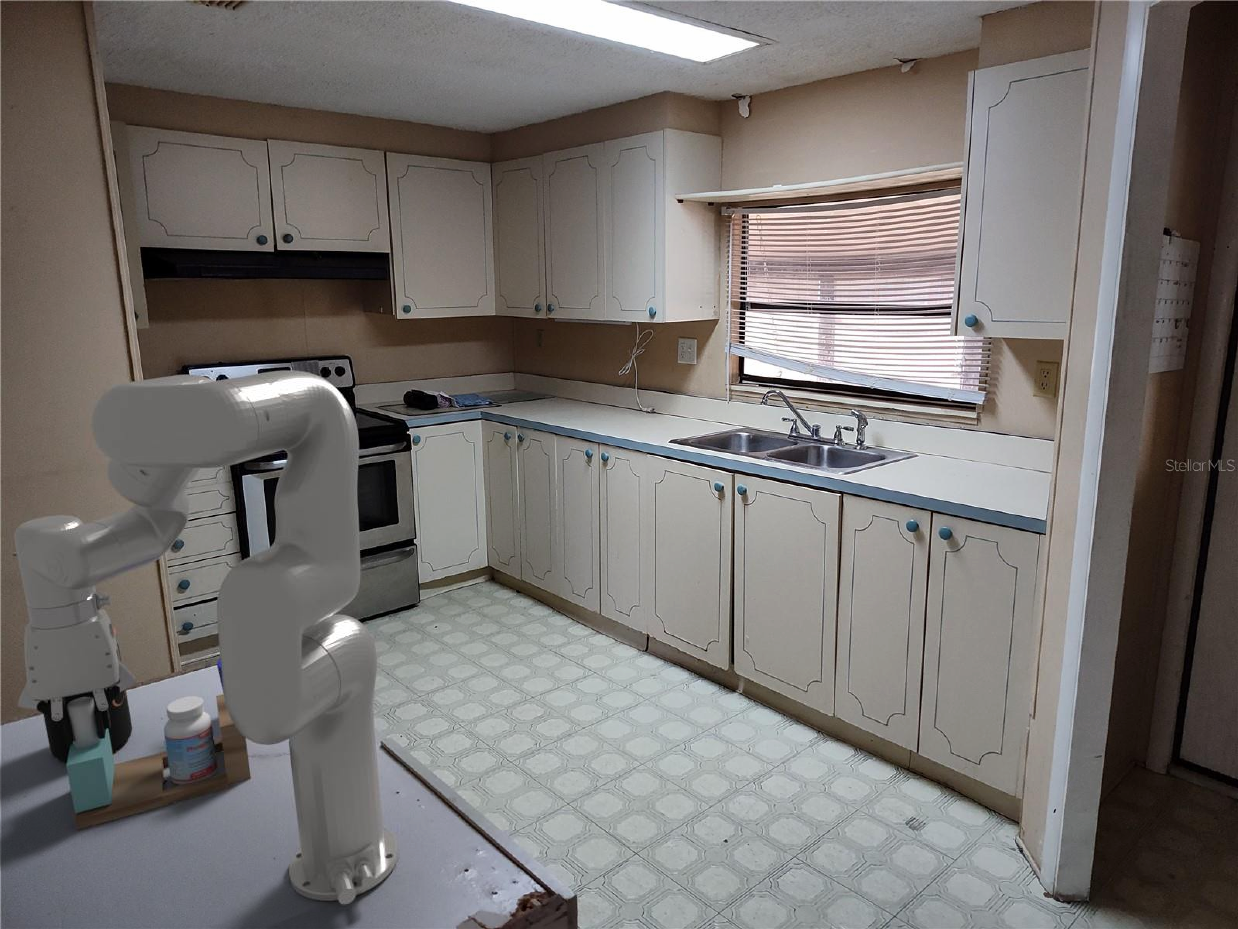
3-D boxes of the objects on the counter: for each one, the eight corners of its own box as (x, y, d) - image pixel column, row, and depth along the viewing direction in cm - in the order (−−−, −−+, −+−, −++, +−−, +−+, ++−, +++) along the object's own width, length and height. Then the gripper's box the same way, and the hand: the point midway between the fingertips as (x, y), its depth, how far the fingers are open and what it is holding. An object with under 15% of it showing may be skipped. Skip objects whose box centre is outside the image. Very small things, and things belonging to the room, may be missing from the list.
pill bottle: (199, 789, 115) (188, 717, 113) (161, 785, 117) (150, 713, 114) (227, 765, 121) (218, 695, 119) (191, 760, 122) (181, 691, 120)
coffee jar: (136, 751, 125) (118, 641, 121) (52, 775, 119) (30, 661, 115) (130, 721, 134) (113, 617, 129) (51, 742, 128) (31, 634, 124)
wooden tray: (251, 782, 117) (244, 724, 115) (76, 829, 107) (65, 768, 105) (244, 741, 127) (237, 688, 125) (84, 781, 118) (74, 724, 115)
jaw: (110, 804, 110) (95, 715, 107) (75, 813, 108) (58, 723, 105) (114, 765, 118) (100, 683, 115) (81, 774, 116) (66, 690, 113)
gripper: (137, 589, 114) (156, 710, 118) (-9, 613, 106) (17, 741, 111) (135, 608, 108) (155, 734, 112) (-20, 635, 100) (8, 769, 104)
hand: (86, 736), depth 111 cm, fingers closed on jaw, 3 cm apart
